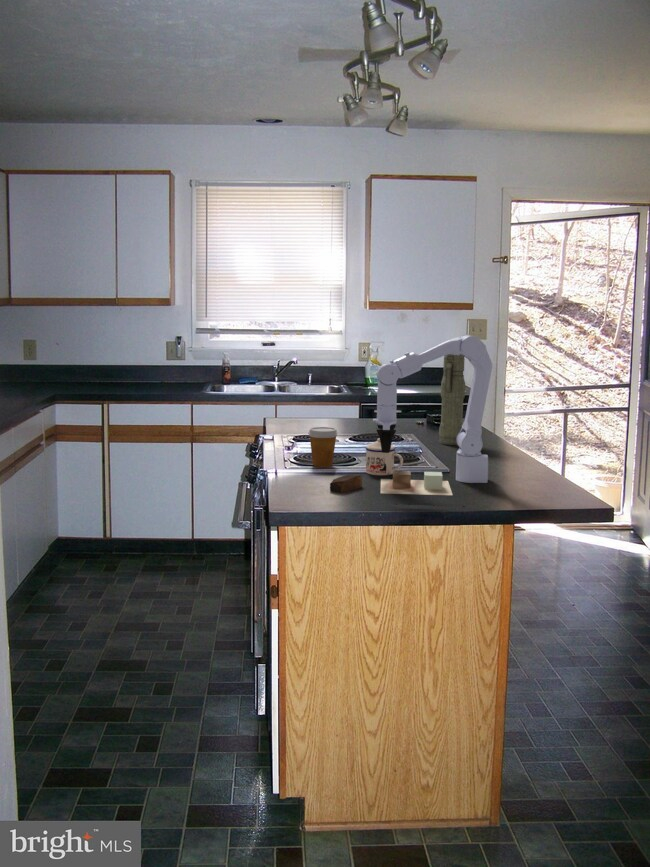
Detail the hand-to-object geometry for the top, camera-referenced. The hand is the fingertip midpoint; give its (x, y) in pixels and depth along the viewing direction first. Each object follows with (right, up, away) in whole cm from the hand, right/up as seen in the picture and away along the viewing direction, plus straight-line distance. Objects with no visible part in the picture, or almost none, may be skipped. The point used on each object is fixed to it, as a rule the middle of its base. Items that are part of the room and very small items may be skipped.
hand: (385, 450), depth 258 cm
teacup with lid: (0, -8, +11) cm, 14 cm away
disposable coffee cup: (-19, -6, +25) cm, 32 cm away
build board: (+8, -11, -8) cm, 16 cm away
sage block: (+13, -11, -8) cm, 19 cm away
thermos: (+29, +1, +68) cm, 74 cm away
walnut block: (+4, -10, -8) cm, 13 cm away
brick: (-12, -12, -11) cm, 21 cm away
